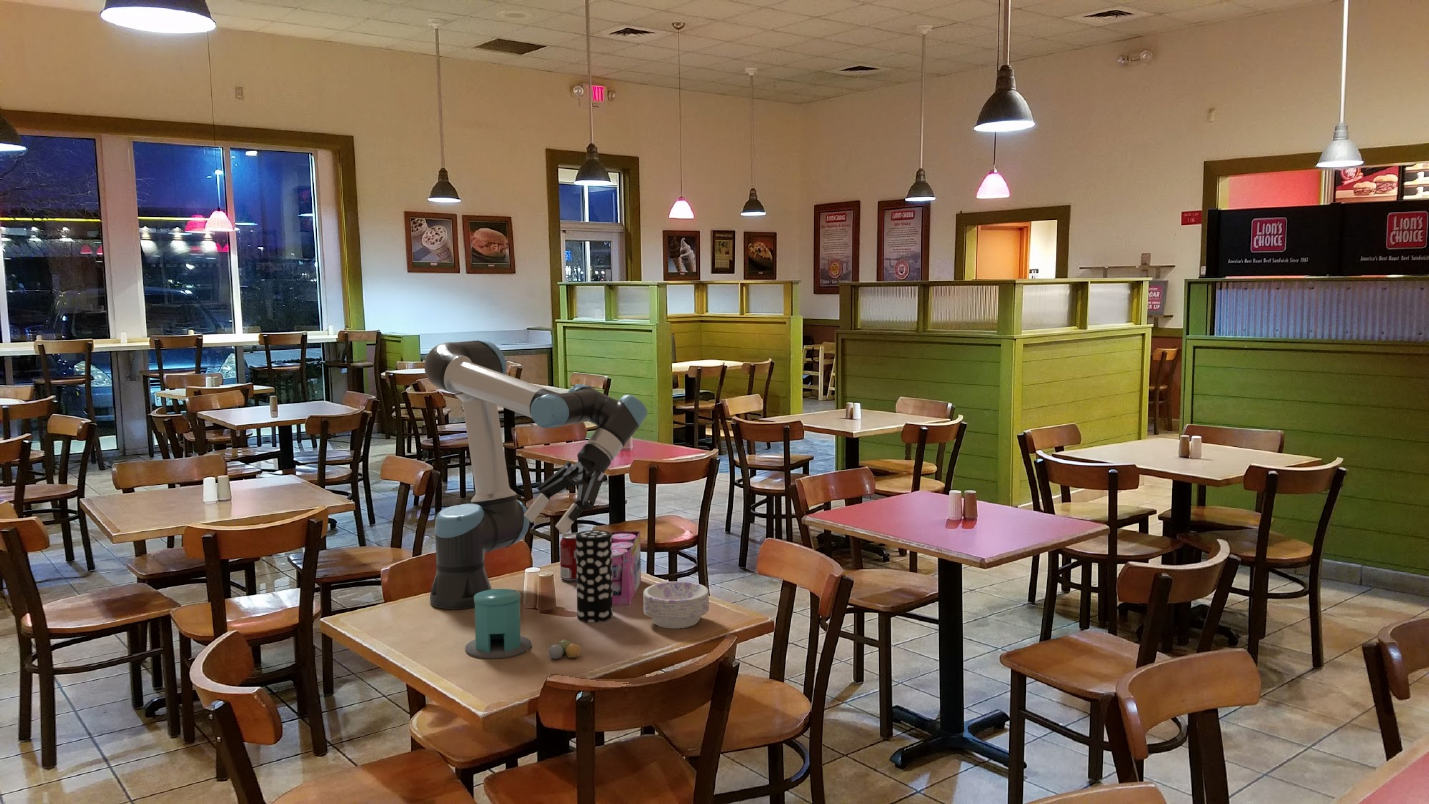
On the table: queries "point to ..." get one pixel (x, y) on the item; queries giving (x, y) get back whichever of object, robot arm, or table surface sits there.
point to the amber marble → (573, 650)
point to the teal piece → (497, 618)
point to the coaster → (497, 649)
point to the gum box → (625, 566)
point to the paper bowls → (676, 603)
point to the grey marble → (555, 651)
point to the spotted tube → (594, 575)
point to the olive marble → (564, 645)
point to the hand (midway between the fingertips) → (543, 524)
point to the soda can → (568, 557)
